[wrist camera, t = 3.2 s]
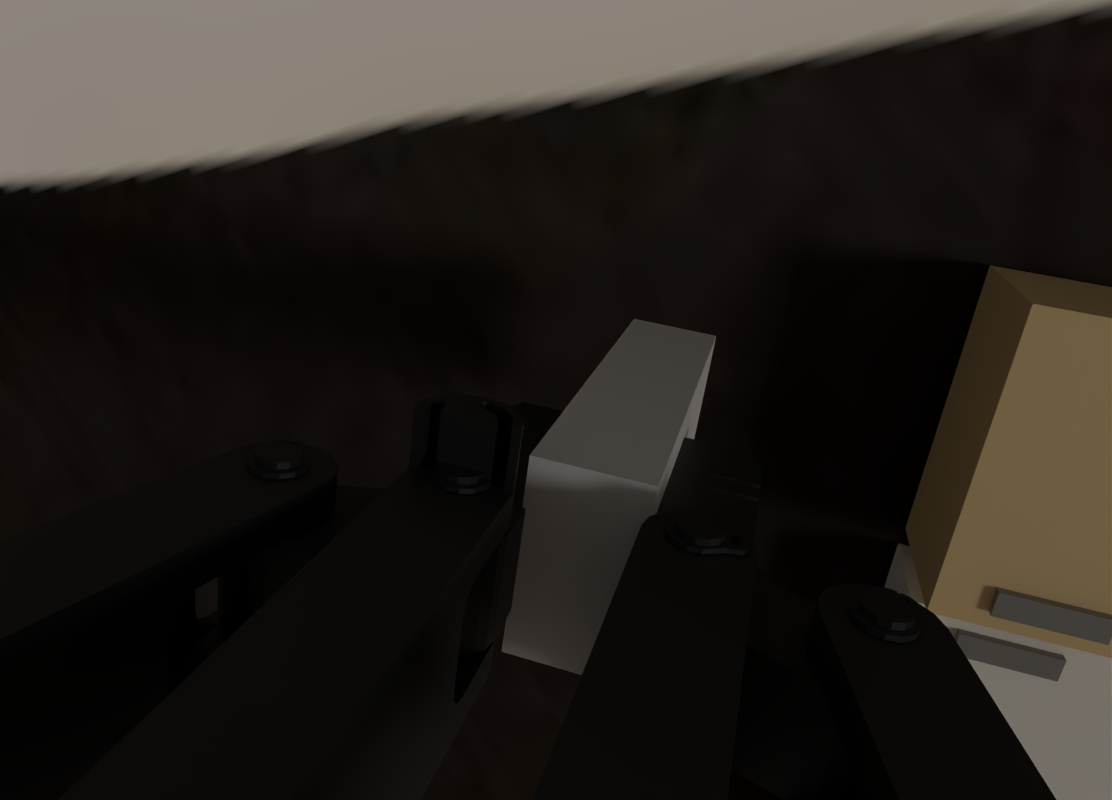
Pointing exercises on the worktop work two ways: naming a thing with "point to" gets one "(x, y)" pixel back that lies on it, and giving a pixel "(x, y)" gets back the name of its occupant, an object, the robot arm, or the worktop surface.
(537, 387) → the worktop surface
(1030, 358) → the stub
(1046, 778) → the flat white box
